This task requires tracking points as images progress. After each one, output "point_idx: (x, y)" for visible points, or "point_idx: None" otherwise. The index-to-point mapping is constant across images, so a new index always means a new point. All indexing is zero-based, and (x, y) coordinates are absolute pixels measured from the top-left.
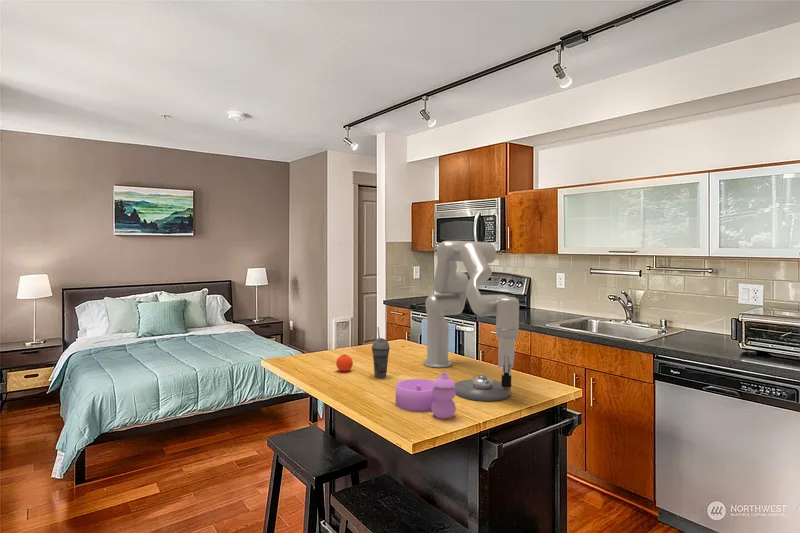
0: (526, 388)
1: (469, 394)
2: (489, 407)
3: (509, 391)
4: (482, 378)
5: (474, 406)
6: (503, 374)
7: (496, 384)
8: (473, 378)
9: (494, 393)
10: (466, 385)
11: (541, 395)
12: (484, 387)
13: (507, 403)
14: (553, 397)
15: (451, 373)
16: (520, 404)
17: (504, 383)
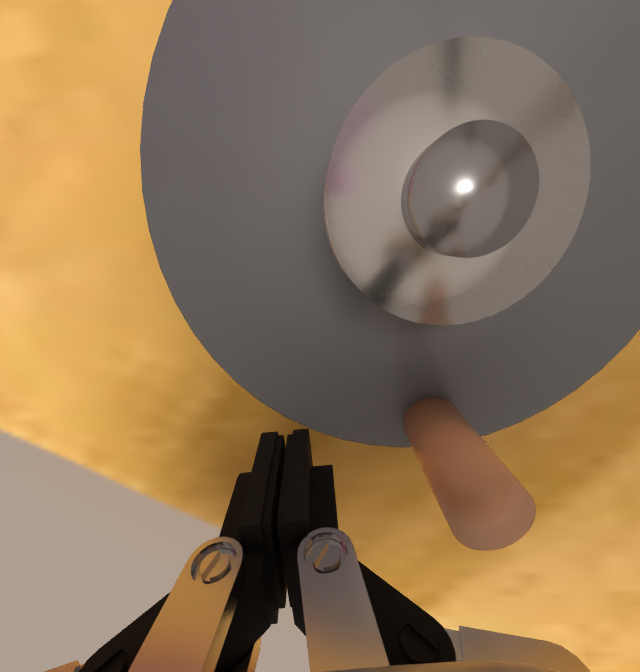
0: (598, 492)
1: (147, 110)
2: (68, 320)
3: (366, 441)
4: (405, 202)
5: (24, 206)
6: (192, 573)
7: (543, 324)
8: (441, 53)
9: (249, 345)
10: (436, 2)
11: (459, 571)
12: (329, 242)
13: (219, 419)
14: (436, 619)
15: None
16: None
17: (239, 483)
